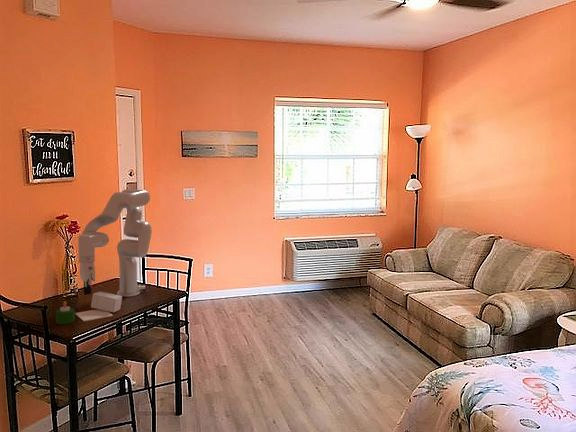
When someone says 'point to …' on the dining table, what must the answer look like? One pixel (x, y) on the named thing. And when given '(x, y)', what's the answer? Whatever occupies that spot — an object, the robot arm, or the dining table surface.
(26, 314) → the dining table surface
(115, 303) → the supplement box
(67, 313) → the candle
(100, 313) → the mat
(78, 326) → the dining table surface
